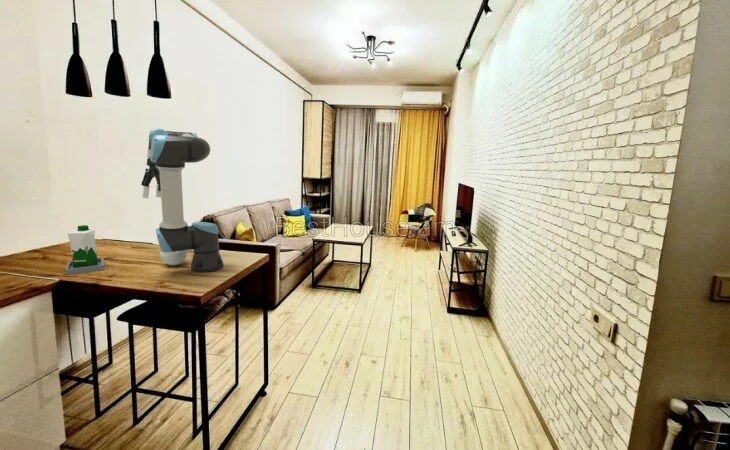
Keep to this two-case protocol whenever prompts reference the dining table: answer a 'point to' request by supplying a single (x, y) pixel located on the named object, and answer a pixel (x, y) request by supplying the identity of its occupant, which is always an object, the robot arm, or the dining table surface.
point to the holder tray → (71, 270)
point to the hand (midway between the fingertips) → (151, 197)
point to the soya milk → (83, 247)
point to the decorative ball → (173, 257)
